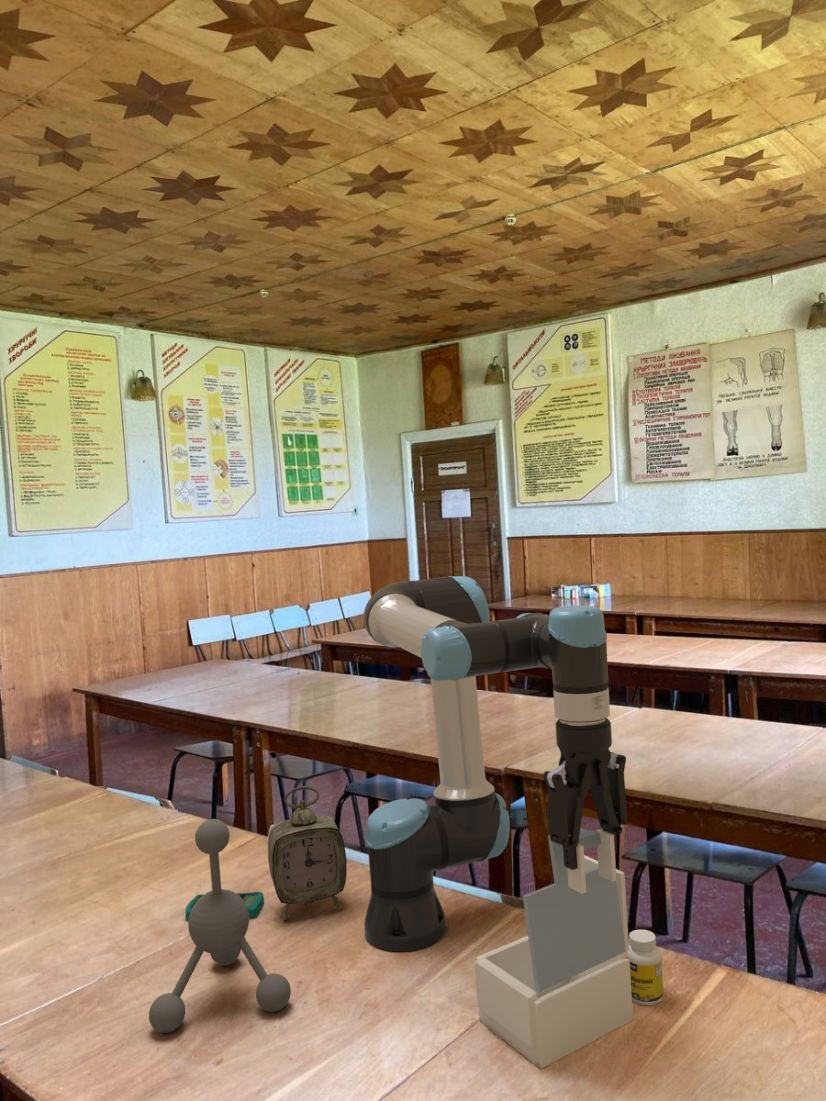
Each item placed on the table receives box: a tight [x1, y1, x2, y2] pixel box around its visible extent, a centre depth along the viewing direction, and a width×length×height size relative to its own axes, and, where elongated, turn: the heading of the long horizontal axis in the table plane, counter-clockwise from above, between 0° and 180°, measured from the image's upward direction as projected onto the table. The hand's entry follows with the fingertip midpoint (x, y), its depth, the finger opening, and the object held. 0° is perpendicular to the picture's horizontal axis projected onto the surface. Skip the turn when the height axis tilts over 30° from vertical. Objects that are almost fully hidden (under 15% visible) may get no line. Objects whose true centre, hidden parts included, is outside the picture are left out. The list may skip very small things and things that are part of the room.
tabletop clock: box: [267, 785, 348, 921], centre depth 171 cm, size 14×9×25 cm, turn 106°
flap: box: [522, 827, 626, 992], centre depth 122 cm, size 20×17×5 cm
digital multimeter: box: [184, 891, 265, 922], centre depth 173 cm, size 7×15×3 cm, turn 86°
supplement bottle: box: [625, 929, 664, 1006], centre depth 134 cm, size 5×5×10 cm
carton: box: [474, 854, 634, 1070], centre depth 129 cm, size 14×20×22 cm
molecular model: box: [148, 818, 292, 1034], centre depth 139 cm, size 24×22×30 cm
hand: (592, 883), depth 120 cm, fingers closed on flap, 5 cm apart
